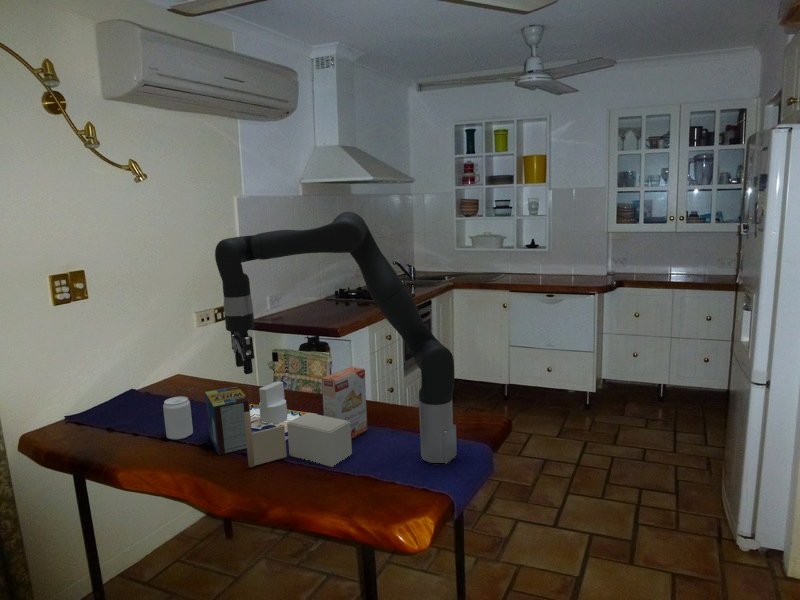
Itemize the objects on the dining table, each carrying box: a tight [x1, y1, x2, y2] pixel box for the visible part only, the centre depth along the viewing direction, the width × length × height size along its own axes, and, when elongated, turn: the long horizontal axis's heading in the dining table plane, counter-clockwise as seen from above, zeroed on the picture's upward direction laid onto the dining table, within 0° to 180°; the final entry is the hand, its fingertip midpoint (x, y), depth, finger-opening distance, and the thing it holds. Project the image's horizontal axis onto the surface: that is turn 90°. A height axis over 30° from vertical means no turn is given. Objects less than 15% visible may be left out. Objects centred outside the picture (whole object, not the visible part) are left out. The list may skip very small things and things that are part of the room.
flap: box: [244, 411, 288, 468], centre depth 169 cm, size 11×2×16 cm, turn 122°
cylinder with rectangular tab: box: [258, 380, 288, 424], centre depth 203 cm, size 9×9×12 cm
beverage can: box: [162, 396, 194, 440], centre depth 191 cm, size 8×8×12 cm
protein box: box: [204, 386, 253, 456], centre depth 184 cm, size 10×15×16 cm
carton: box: [286, 412, 353, 468], centre depth 173 cm, size 16×9×10 cm, turn 58°
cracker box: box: [321, 366, 368, 440], centre depth 184 cm, size 14×6×21 cm, turn 143°
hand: (244, 369), depth 164 cm, fingers open, 8 cm apart
